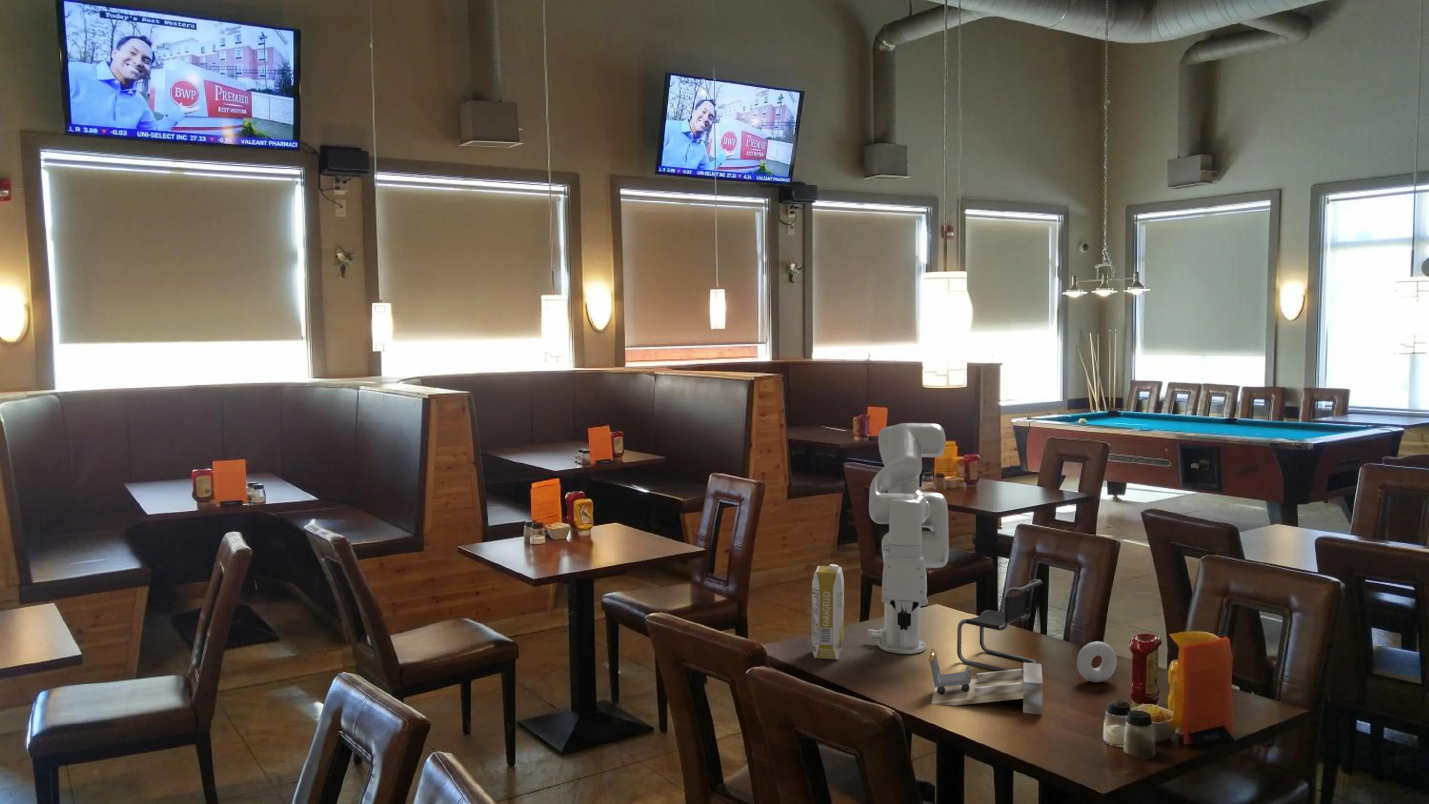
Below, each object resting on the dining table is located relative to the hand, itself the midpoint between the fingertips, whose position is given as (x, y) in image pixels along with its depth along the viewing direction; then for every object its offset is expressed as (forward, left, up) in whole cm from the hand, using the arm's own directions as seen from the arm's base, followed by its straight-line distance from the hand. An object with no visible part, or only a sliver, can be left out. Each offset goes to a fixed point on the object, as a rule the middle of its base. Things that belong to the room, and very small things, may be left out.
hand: (904, 628), depth 236 cm
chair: (+21, +28, -15) cm, 38 cm away
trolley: (+11, +1, -14) cm, 18 cm away
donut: (+44, +20, -15) cm, 50 cm away
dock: (+19, +1, -16) cm, 25 cm away
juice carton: (-22, +22, -15) cm, 34 cm away
